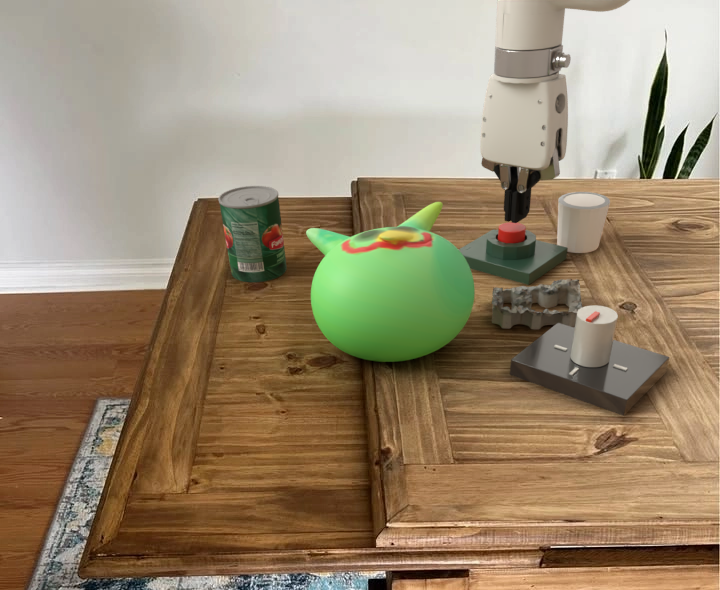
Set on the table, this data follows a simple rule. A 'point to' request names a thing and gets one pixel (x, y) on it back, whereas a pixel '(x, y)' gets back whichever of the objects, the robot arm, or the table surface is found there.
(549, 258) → the button housing
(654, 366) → the dial base plate
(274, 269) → the canned tomato
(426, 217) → the toy bird
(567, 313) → the egg carton
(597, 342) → the knob
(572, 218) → the white cup
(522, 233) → the button
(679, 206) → the table surface
